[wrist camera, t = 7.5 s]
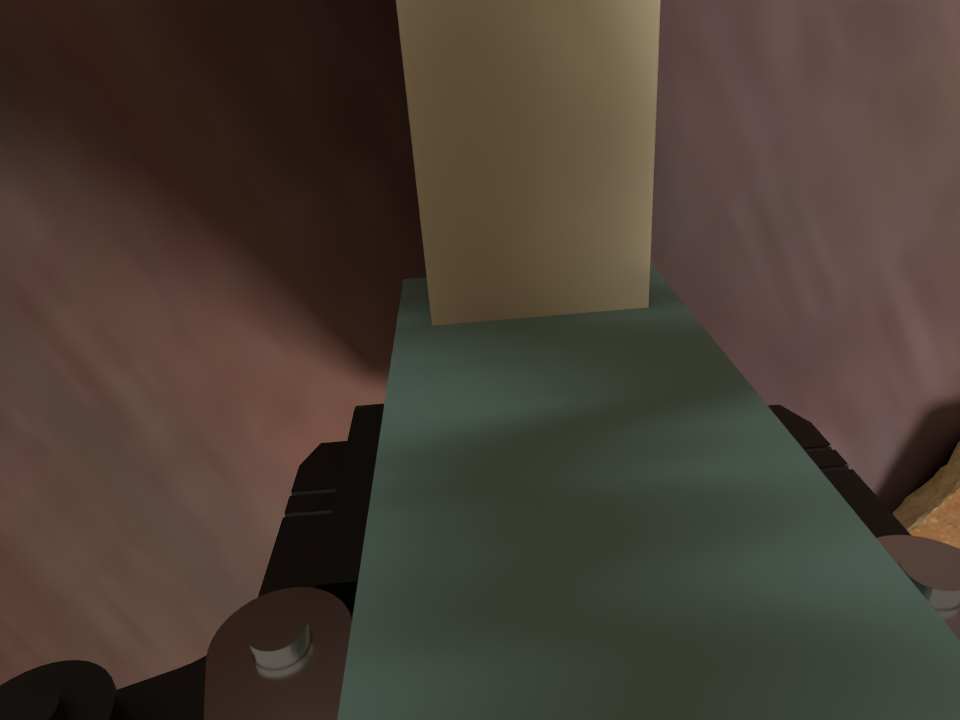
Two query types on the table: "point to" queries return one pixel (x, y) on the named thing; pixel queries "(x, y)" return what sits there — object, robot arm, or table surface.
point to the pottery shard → (935, 505)
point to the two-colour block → (593, 432)
